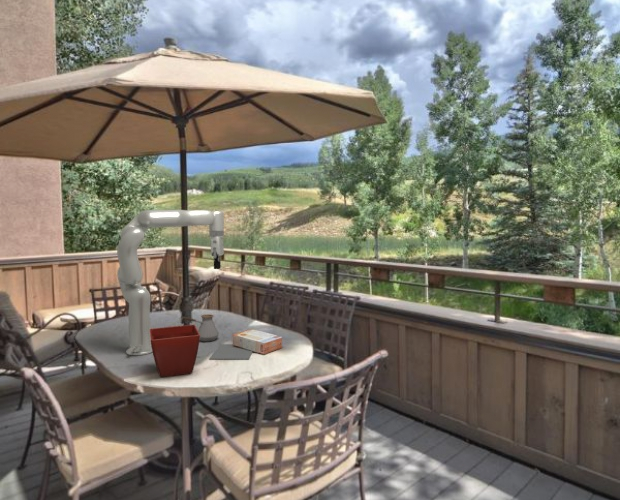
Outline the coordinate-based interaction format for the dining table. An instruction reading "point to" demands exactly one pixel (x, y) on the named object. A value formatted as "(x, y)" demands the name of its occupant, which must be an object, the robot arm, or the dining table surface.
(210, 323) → the coffee pot
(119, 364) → the dining table surface
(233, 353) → the mat
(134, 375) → the dining table surface
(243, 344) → the cracker box
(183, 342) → the plant pot
